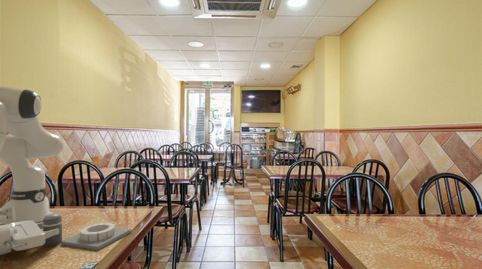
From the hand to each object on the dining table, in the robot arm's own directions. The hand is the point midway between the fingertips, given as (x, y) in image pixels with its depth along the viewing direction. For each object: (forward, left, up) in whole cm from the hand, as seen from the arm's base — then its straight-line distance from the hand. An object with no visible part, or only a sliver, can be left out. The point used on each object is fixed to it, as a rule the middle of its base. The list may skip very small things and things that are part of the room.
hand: (55, 227), depth 92 cm
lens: (0, -1, -6) cm, 6 cm away
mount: (+12, +7, -6) cm, 15 cm away
